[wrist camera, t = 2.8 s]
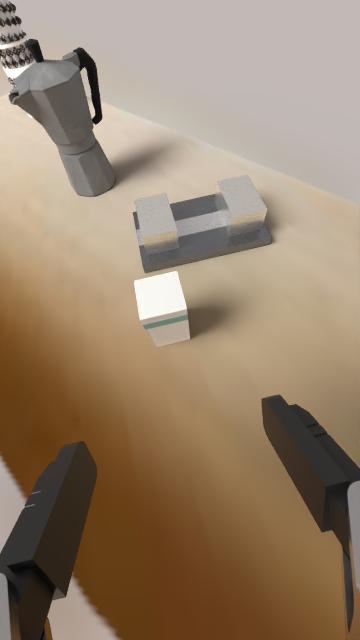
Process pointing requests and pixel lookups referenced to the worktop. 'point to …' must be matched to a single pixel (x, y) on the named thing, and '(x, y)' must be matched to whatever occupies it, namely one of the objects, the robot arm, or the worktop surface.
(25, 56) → the black and white cylinder
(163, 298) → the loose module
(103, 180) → the coffeepot
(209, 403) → the worktop surface
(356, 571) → the robot arm
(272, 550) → the worktop surface
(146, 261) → the rail panel
